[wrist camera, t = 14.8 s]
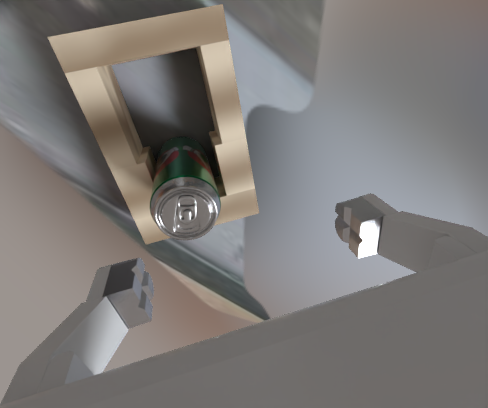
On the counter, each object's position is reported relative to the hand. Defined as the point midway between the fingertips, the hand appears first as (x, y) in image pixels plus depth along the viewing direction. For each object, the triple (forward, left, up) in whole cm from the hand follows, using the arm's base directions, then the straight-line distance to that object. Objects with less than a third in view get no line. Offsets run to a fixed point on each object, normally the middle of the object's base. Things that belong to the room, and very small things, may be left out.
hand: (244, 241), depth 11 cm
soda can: (+3, -3, -20) cm, 20 cm away
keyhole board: (0, -3, -20) cm, 20 cm away
